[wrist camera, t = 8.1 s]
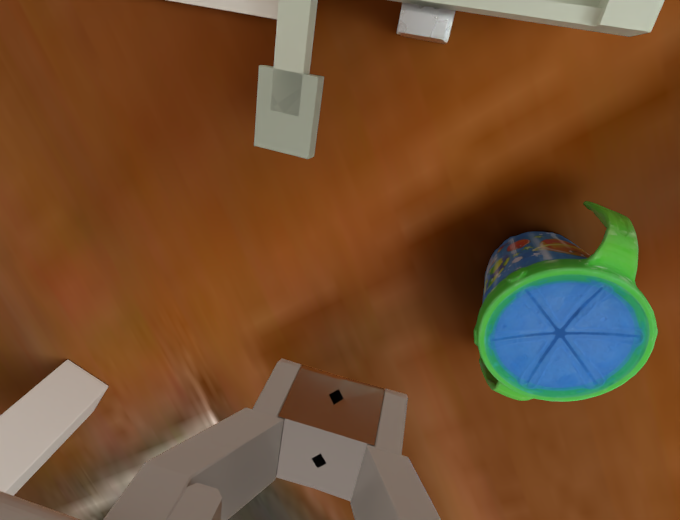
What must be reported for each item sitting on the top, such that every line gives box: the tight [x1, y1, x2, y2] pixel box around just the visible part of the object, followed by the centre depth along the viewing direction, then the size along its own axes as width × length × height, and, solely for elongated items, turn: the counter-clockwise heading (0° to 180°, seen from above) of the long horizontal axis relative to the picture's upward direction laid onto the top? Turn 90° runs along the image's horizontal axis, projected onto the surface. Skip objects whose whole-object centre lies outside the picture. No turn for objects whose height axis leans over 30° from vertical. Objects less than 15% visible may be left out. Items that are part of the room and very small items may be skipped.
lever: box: [254, 0, 665, 159], centre depth 22 cm, size 20×16×4 cm
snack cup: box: [474, 201, 658, 402], centre depth 32 cm, size 16×11×10 cm
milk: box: [0, 360, 108, 496], centre depth 45 cm, size 6×6×22 cm
